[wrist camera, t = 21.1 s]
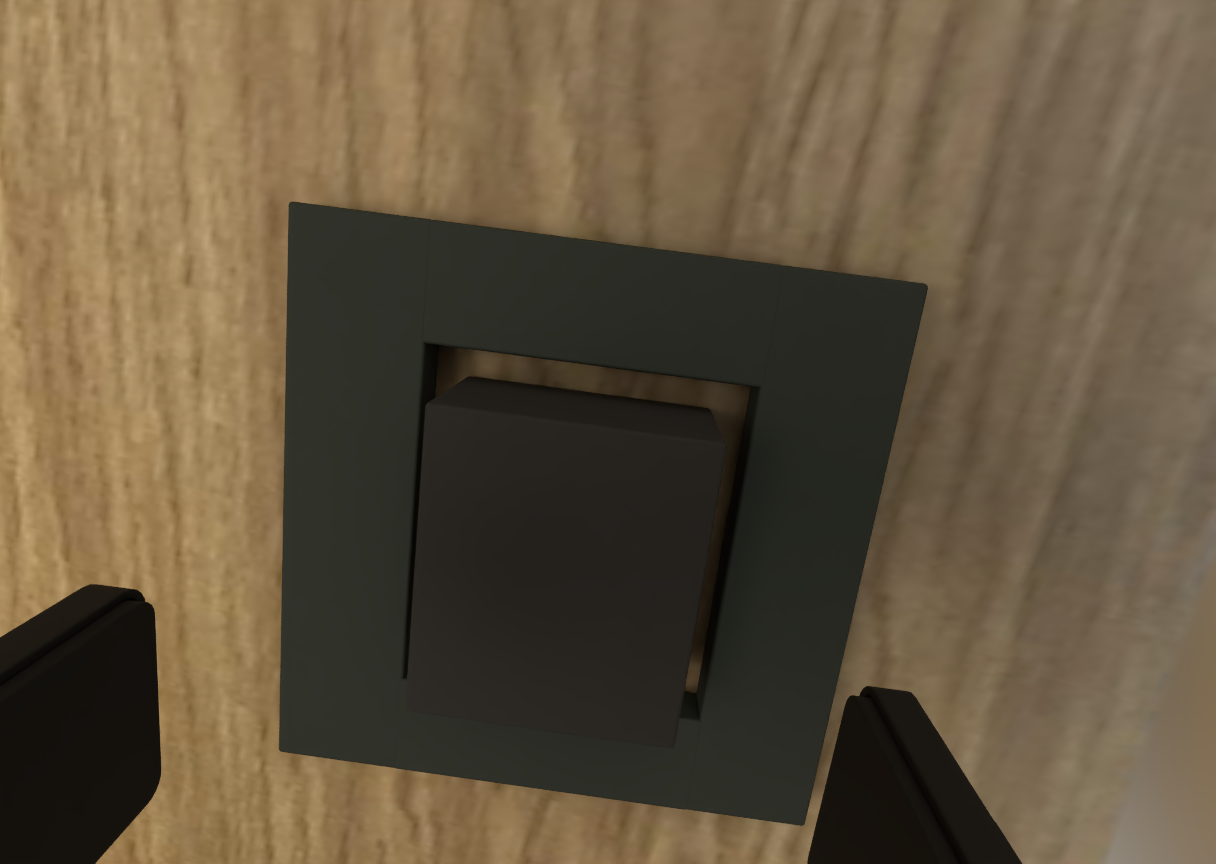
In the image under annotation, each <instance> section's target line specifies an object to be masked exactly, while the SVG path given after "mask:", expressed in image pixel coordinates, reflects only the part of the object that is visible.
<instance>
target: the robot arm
mask: <svg viewBox="0 0 1216 864" xmlns="http://www.w3.org/2000/svg"><path fill="white" fill-rule="evenodd" d="M160 777H161V752H160V727H159V702H158V678H157V653H156V629H155V612H154V608H153V607H152V605H151V604H149V603H148V602H145V598H144V597H143V595H142V593H141V592H139V591H138V590H135V589H127V588H120V587H112V586H104V585H96V584H90V585H88V586H85V587H83V588H81V589H79V590H78V591H76V592H74V593H73V594H71V595H69V596H68V597H66V598H64V599H63V600H61V601H59V602H58V603H56V604H55V605H53V606H51V607H50V608H48V609H46V610H45V611H43V612H41V613H40V614H38V615H36V616H35V617H33V618H31V619H30V620H28V621H27V622H25V623H23V624H22V625H20V626H18V627H17V628H15V629H13V630H12V631H10V632H8V633H7V634H5V635H3V636H2V637H0V864H95V863H96V862H97V861H98V860H99V858H100V857H101V856H102V855H103V854H104V853H105V852H106V850H107V849H108V848H109V847H110V846H111V845H112V844H113V843H114V841H115V840H116V839H117V838H118V837H119V836H120V835H121V833H122V832H123V831H124V830H125V829H126V828H127V827H128V826H129V824H130V823H131V822H132V821H133V820H134V819H135V818H136V816H137V815H138V814H139V813H140V812H141V811H142V810H143V809H144V807H145V806H146V805H147V804H148V803H149V801H150V800H151V799H152V797H153V795H154V793H155V792H156V789H157V787H158V784H159V781H160ZM808 864H1022V863H1021V861H1020V859H1019V858H1018V856H1017V855H1016V853H1015V852H1014V850H1013V848H1012V847H1011V845H1010V844H1009V842H1008V841H1007V839H1006V838H1005V836H1004V834H1003V833H1002V831H1001V830H1000V828H999V827H998V825H997V823H996V822H995V821H994V820H993V818H992V817H991V815H990V814H989V812H988V810H987V809H986V807H985V806H984V804H983V803H982V801H981V799H980V798H979V796H978V795H977V793H976V792H975V790H974V788H973V787H972V785H971V784H970V782H969V781H968V779H967V777H966V776H965V774H964V773H963V771H962V770H961V768H960V766H959V765H958V763H957V762H956V760H955V759H954V757H953V755H952V754H951V752H950V751H949V749H948V748H947V746H946V744H945V743H944V741H943V740H942V738H941V737H940V735H939V733H938V732H937V730H936V729H935V727H934V726H933V724H932V722H931V721H930V719H929V718H928V716H927V714H926V713H925V711H924V710H923V708H922V707H921V705H920V703H919V702H918V700H917V699H916V697H915V696H914V695H913V694H912V693H911V692H908V691H901V690H893V689H886V688H878V687H871V686H867V687H865V688H863V690H862V691H861V693H860V696H853V695H852V696H850V697H849V698H848V699H847V701H846V704H845V708H844V712H843V716H842V720H841V724H840V728H839V733H838V737H837V741H836V745H835V749H834V753H833V757H832V761H831V766H830V770H829V774H828V778H827V782H826V786H825V790H824V794H823V798H822V803H821V807H820V811H819V815H818V819H817V823H816V827H815V831H814V836H813V840H812V844H811V848H810V852H809V857H808Z"/></svg>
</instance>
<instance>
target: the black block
mask: <svg viewBox="0 0 1216 864" xmlns="http://www.w3.org/2000/svg"><path fill="white" fill-rule="evenodd" d="M726 448H727V446H726V443H725V441H724V439H723V437H722V434H721V432H720V430H719V428H718V426H717V424H716V422H715V420H714V417H713V415H712V413H711V411H710V410H709V409H708V408H701V407H694V406H686V405H679V404H672V403H664V402H657V401H649V400H642V399H634V398H627V397H620V396H612V395H605V394H597V393H590V392H583V391H575V390H568V389H560V388H553V387H545V386H538V385H531V384H523V383H516V382H508V381H501V380H494V379H486V378H479V377H471V376H470V377H467V378H466V379H464V380H462V381H461V382H459V383H458V384H456V385H455V386H453V387H451V388H450V389H448V390H447V391H445V392H444V393H442V394H441V395H439V396H437V397H436V398H434V399H433V400H431V401H430V402H428V403H427V404H426V406H425V420H424V435H423V450H422V465H421V480H420V494H419V509H418V524H417V539H416V554H415V569H414V584H413V598H412V613H411V628H410V643H409V658H408V673H407V688H406V703H405V708H406V710H407V711H410V712H417V713H424V714H431V715H438V716H445V717H452V718H459V719H466V720H473V721H480V722H487V723H494V724H501V725H508V726H515V727H522V728H529V729H536V730H543V731H550V732H557V733H564V734H571V735H578V736H585V737H592V738H599V739H606V740H613V741H620V742H627V743H634V744H641V745H648V746H655V747H662V748H669V749H671V748H673V747H674V745H675V741H676V736H677V730H678V724H679V718H680V713H681V707H682V701H683V695H684V690H685V684H686V678H687V672H688V667H689V661H690V655H691V649H692V644H693V638H694V632H695V626H696V621H697V615H698V609H699V603H700V598H701V592H702V586H703V580H704V575H705V569H706V563H707V557H708V552H709V546H710V540H711V534H712V529H713V523H714V517H715V511H716V506H717V500H718V494H719V489H720V483H721V477H722V471H723V466H724V460H725V454H726Z"/></svg>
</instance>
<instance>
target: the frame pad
mask: <svg viewBox="0 0 1216 864" xmlns="http://www.w3.org/2000/svg"><path fill="white" fill-rule="evenodd" d="M927 290H928V286H927V285H926V284H923V283H915V282H907V281H900V280H892V279H884V278H877V277H869V276H861V275H854V274H846V273H838V272H830V271H823V270H815V269H807V268H800V267H792V266H782V265H777V264H769V263H761V262H754V261H746V260H738V259H730V258H723V257H715V256H707V255H700V254H692V253H684V252H677V251H669V250H661V249H654V248H646V247H638V246H630V245H623V244H615V243H607V242H600V241H592V240H584V239H577V238H569V237H561V236H554V235H546V234H538V233H530V232H523V231H515V230H507V229H500V228H492V227H484V226H477V225H469V224H461V223H453V222H446V221H438V220H430V219H423V218H415V217H407V216H400V215H392V214H384V213H377V212H369V211H361V210H353V209H346V208H338V207H330V206H323V205H315V204H307V203H300V202H290V203H289V226H288V282H287V338H286V394H285V449H284V505H283V561H282V617H281V672H280V728H279V750H280V751H281V752H288V753H295V754H302V755H309V756H316V757H323V758H330V759H337V760H344V761H351V762H358V763H365V764H372V765H379V766H386V767H393V768H397V769H404V770H411V771H418V772H425V773H432V774H439V775H446V776H453V777H460V778H467V779H474V780H481V781H488V782H495V783H502V784H509V785H516V786H523V787H530V788H537V789H544V790H551V791H558V792H566V793H573V794H580V795H587V796H594V797H601V798H608V799H615V800H622V801H629V802H636V803H643V804H650V805H657V806H664V807H671V808H678V809H688V810H695V811H702V812H709V813H716V814H723V815H730V816H737V817H744V818H751V819H758V820H765V821H772V822H779V823H786V824H793V825H800V826H802V825H804V824H805V820H806V816H807V811H808V807H809V802H810V798H811V794H812V789H813V785H814V781H815V776H816V772H817V768H818V763H819V759H820V755H821V750H822V746H823V742H824V737H825V733H826V729H827V724H828V720H829V716H830V711H831V707H832V703H833V698H834V694H835V690H836V685H837V681H838V676H839V672H840V668H841V663H842V659H843V655H844V650H845V646H846V642H847V637H848V633H849V629H850V624H851V620H852V616H853V611H854V607H855V603H856V598H857V594H858V590H859V585H860V581H861V577H862V572H863V568H864V564H865V559H866V555H867V550H868V546H869V542H870V537H871V533H872V529H873V524H874V520H875V516H876V511H877V507H878V503H879V498H880V494H881V490H882V485H883V481H884V477H885V472H886V468H887V464H888V459H889V455H890V451H891V446H892V442H893V438H894V433H895V429H896V424H897V420H898V416H899V411H900V407H901V403H902V398H903V394H904V390H905V385H906V381H907V377H908V372H909V368H910V364H911V359H912V355H913V351H914V346H915V342H916V338H917V333H918V329H919V325H920V320H921V316H922V312H923V307H924V303H925V298H926V294H927ZM438 345H443V346H451V347H458V348H466V349H473V350H481V351H489V352H496V353H504V354H511V355H519V356H526V357H534V358H541V359H549V360H556V361H564V362H571V363H579V364H586V365H594V366H601V367H609V368H617V369H624V370H632V371H639V372H647V373H654V374H662V375H669V376H677V377H684V378H692V379H699V380H707V381H714V382H722V383H729V384H737V385H745V386H751V389H750V395H749V400H748V406H747V412H746V417H745V423H744V429H743V434H742V440H741V445H740V451H739V457H738V462H737V468H736V474H735V479H734V485H733V491H732V496H731V502H730V508H729V513H728V519H727V524H726V530H725V536H724V541H723V547H722V553H721V558H720V564H719V570H718V575H717V581H716V586H715V592H714V598H713V603H712V609H711V615H710V620H709V626H708V632H707V637H706V643H705V649H704V654H703V660H702V665H701V671H700V677H699V682H698V688H697V694H693V693H685V692H684V695H683V701H682V707H681V713H680V718H679V724H678V730H677V736H676V741H675V745H674V747H673V748H671V749H669V748H662V747H655V746H648V745H641V744H634V743H627V742H620V741H613V740H606V739H599V738H592V737H585V736H578V735H571V734H564V733H557V732H550V731H543V730H536V729H529V728H522V727H515V726H508V725H501V724H494V723H487V722H480V721H473V720H466V719H459V718H452V717H445V716H438V715H431V714H424V713H417V712H410V711H407V710H406V708H405V703H406V688H407V673H408V658H409V643H410V628H411V613H412V598H413V584H414V569H415V554H416V539H417V524H418V509H419V494H420V480H421V465H422V450H423V435H424V420H425V406H426V404H427V403H428V402H430V401H431V400H433V399H434V398H435V383H436V369H437V355H438Z"/></svg>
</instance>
